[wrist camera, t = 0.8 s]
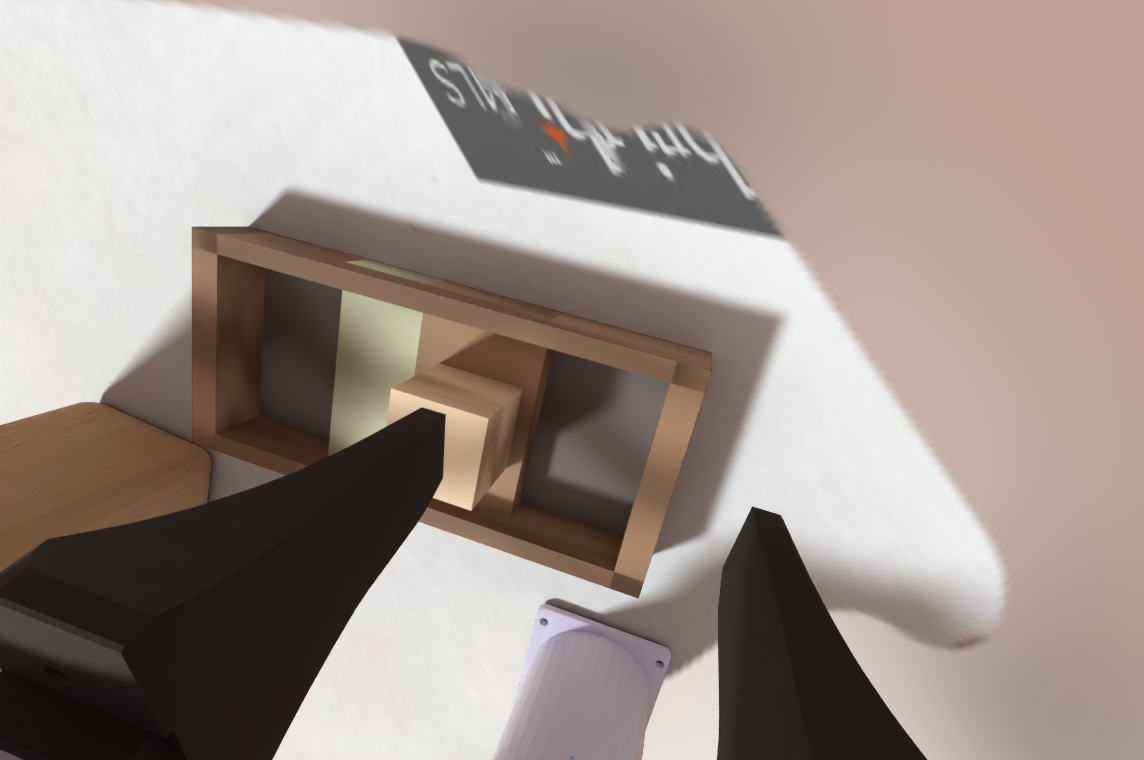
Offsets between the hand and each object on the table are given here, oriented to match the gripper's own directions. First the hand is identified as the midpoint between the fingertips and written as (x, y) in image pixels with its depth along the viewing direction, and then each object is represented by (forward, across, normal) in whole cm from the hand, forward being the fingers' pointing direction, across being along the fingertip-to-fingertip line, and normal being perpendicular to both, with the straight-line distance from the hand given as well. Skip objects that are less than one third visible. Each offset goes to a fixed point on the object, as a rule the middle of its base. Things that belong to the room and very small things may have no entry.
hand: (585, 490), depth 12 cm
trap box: (+14, +10, +9) cm, 19 cm away
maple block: (+12, +7, +8) cm, 16 cm away
